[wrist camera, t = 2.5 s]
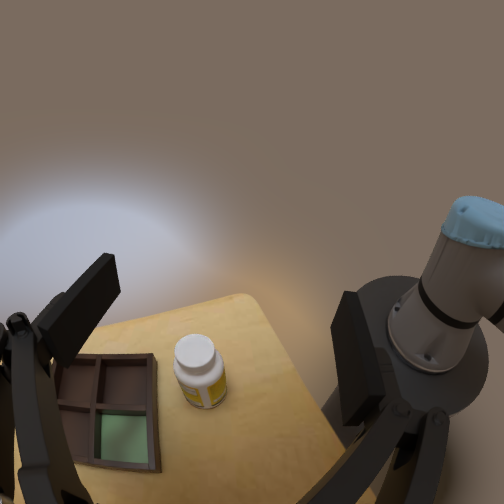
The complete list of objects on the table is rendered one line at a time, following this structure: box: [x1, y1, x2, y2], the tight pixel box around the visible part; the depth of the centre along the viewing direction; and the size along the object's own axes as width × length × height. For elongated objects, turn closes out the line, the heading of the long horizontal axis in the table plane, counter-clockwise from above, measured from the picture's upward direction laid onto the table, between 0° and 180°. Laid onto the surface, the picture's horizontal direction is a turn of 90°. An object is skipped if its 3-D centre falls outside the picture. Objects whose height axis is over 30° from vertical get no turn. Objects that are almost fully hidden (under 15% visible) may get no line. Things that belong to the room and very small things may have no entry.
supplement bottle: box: [173, 334, 227, 409], centre depth 28 cm, size 5×5×10 cm
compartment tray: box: [52, 353, 162, 473], centre depth 25 cm, size 16×16×2 cm
